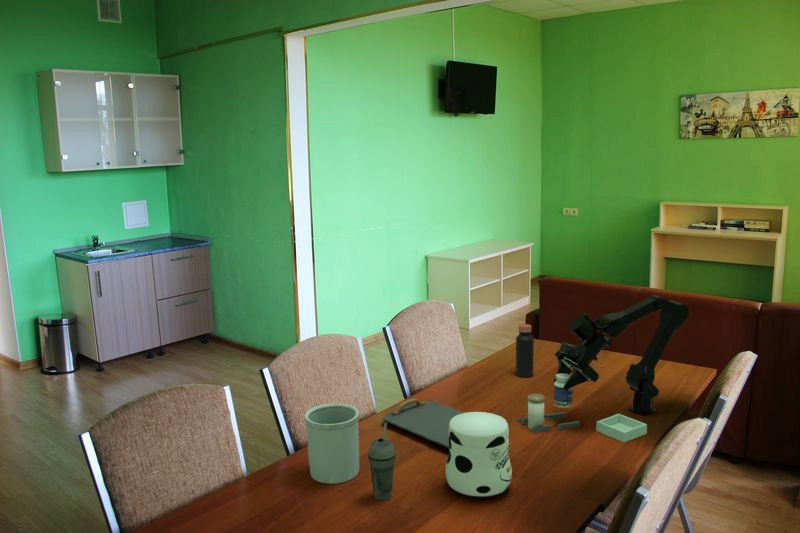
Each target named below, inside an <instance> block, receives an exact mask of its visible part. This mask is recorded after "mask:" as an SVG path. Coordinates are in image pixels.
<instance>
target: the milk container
mask: <svg viewBox="0 0 800 533" xmlns="http://www.w3.org/2000/svg"><path fill="white" fill-rule="evenodd" d="M509 431H510V430H509V424H508V422H507V420H506V419H505V418H504V417H503V416H501V415H498V414H495V413H491V412H484V411H471V412H470V411H469V412H464V413H463V414H459V415H456V416H455V417H453V418H452V419H451V421H450V423H449V449H448V455H447V458H446V463H445V477H446V481H447V483H448V486H449V487H450V488H451V489H452V490H453V491H455V492H456V493H458V494H460V495H461V496H465V497H469V498H478V499H487V498H491V497H493V498H494V497H495V496H497V495H500V494H503V493H504V492H505V491H507V489H508V488H509V487H510V485H511V480H512V476H513V474H512V473H513V469H512V463H511V460H510V456H509V455H510V454H509V445H510V444H509V442H510V440H509V436H510V435H509V434H510V433H509Z"/></svg>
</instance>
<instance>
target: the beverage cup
mask: <svg viewBox="0 0 800 533" xmlns="http://www.w3.org/2000/svg"><path fill="white" fill-rule="evenodd" d="M387 426H388V425H387V423H386V422H384V426H383V436H382V438H377V439H374V440H373V441H372V442H371V444H370V445H369V448H368V453H367V457H368V461H369V462H368V463H369V465H370V473H371V483H372V489H373V495H374V496H373V497H374V499H376V500H378V501H388V500H390V499H391V498H392V497H393V496H392V493H393V483H394V468H395V461H396V456H397V453H396V449H395V446H394V444H393V443H392V442H391V441H390V440H389V439H387V438H386V434H387V433H386V432H387Z"/></svg>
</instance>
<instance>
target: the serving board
mask: <svg viewBox="0 0 800 533" xmlns="http://www.w3.org/2000/svg"><path fill="white" fill-rule="evenodd" d="M463 413H465V412H464V411H461V410H458V409H456V408H453V407H450V406H448V405H444V404H442V403H440V402H437V401H433V400H425V401H424V400H423V401H421V400H420V399H418V398H410V399H407V400H404V401H402V402H401V403H399V405H398V406H397V407H396V408H395V409H394V410H392V411H390V412H388V413H387V414H386V415H384V417H383V418H382V421H383V422H384V423H387V425H386V426H391V425H392V426H395V427H397V428H399V429H401V430H404V431H407V432H409V433H410V434H413V435H415V436H418V437H420V438H423V439H425V440H427V441H429V442H432V443H435V444H437V445H440V446H442V447H444V448H446V449H448V450H449V423H450V421H451V419H452V418H453V417H455V416H456V415H459V414H463Z"/></svg>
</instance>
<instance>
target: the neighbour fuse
mask: <svg viewBox="0 0 800 533" xmlns="http://www.w3.org/2000/svg"><path fill="white" fill-rule="evenodd" d="M545 399H546V398H545V395H544V394H541V393H531V394H528V395H527V409H528V410H527V417H528V424H527V427H528V428H529V430H532V427H538V426H544V425H545V418H544V415H545Z"/></svg>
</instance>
